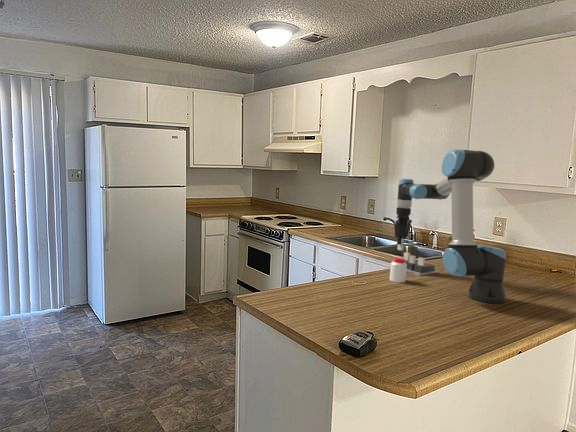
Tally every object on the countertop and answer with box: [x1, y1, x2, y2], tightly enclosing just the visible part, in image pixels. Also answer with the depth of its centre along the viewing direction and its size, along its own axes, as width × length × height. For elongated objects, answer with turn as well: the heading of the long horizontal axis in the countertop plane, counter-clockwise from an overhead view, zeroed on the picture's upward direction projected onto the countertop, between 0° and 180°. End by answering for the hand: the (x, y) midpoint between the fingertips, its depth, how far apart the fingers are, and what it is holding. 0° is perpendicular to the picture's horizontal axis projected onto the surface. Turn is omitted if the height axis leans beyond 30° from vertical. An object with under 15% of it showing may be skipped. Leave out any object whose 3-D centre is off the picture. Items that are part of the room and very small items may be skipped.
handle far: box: [417, 256, 426, 266], centre depth 232 cm, size 3×2×4 cm, turn 36°
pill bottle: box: [389, 257, 407, 284], centre depth 215 cm, size 8×8×11 cm
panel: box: [405, 260, 439, 277], centre depth 239 cm, size 18×16×4 cm
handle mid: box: [409, 254, 417, 264], centre depth 237 cm, size 3×2×4 cm, turn 36°
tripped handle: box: [403, 251, 411, 261], centre depth 244 cm, size 3×2×4 cm, turn 36°
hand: (400, 250), depth 240 cm, fingers closed
